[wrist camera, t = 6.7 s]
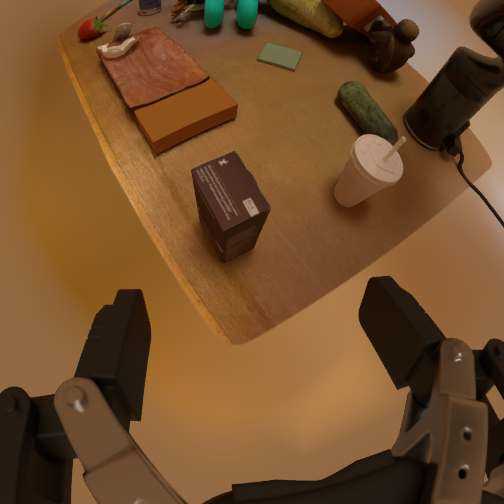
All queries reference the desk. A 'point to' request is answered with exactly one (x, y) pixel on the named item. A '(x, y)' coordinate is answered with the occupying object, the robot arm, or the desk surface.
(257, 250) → the desk surface
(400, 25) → the sculpture
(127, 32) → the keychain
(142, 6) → the pill bottle
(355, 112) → the vegetable
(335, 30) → the lettuce
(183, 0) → the figurine
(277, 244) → the desk surface
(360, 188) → the smoothie
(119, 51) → the false teeth
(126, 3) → the pencil
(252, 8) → the donuts
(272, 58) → the mat
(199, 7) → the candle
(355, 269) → the desk surface
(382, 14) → the rounded orange block
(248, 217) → the box
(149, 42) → the brown wooden flat board
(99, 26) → the fruit
